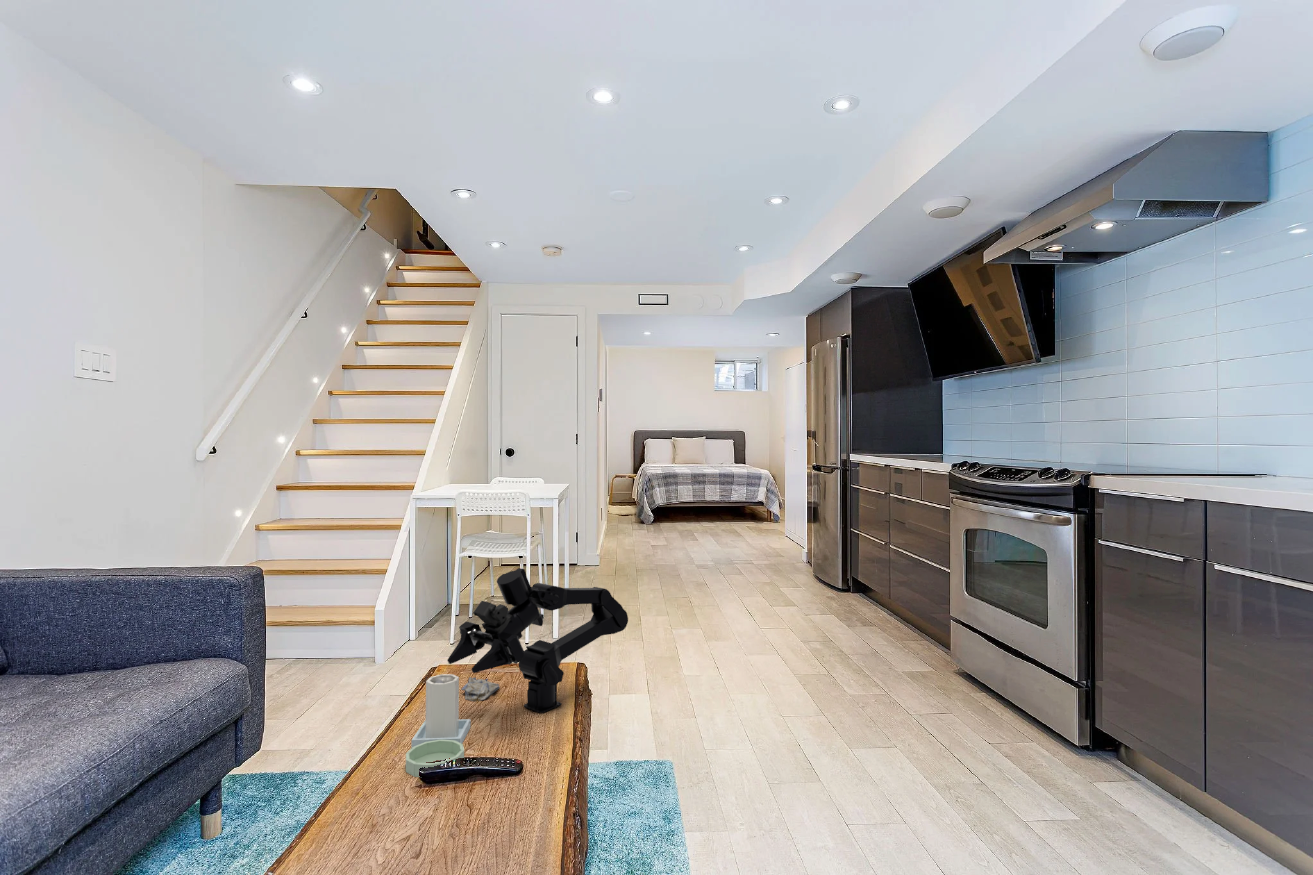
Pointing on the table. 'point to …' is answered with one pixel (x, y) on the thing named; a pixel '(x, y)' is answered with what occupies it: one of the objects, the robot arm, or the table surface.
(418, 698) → the table surface
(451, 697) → the pebble cup
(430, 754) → the bowl
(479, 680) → the mineral specimen
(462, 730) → the parts tray
